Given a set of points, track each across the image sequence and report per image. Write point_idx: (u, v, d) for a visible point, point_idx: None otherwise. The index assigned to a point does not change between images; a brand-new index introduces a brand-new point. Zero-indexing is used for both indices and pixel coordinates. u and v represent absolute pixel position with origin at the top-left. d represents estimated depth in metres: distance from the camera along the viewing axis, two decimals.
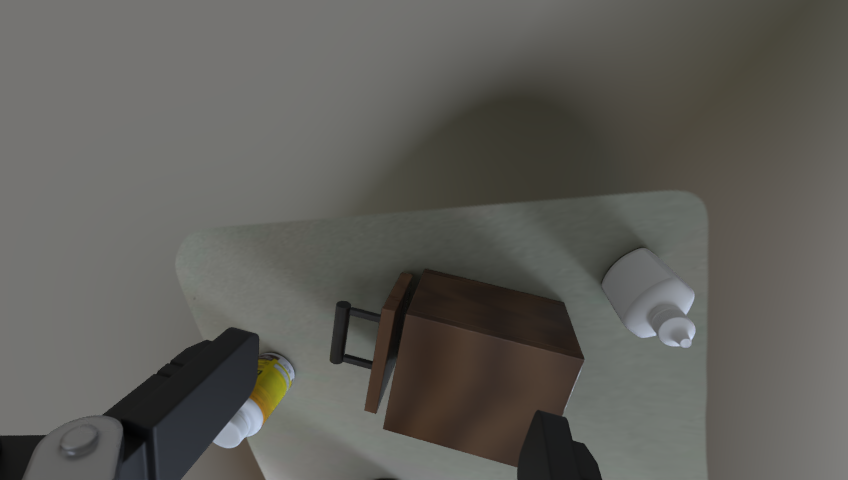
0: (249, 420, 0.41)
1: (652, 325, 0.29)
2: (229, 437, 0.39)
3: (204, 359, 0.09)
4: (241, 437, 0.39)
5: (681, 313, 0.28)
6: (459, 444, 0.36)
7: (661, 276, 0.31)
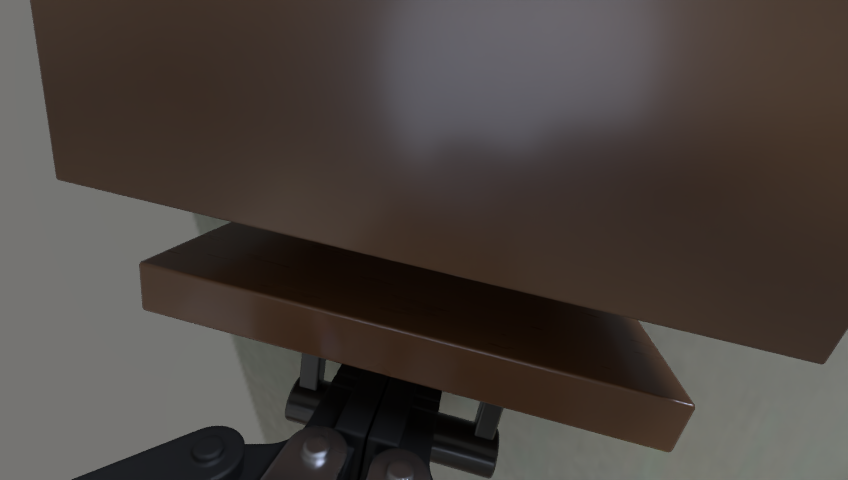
0: None
1: None
2: None
3: None
4: None
5: None
6: None
7: None
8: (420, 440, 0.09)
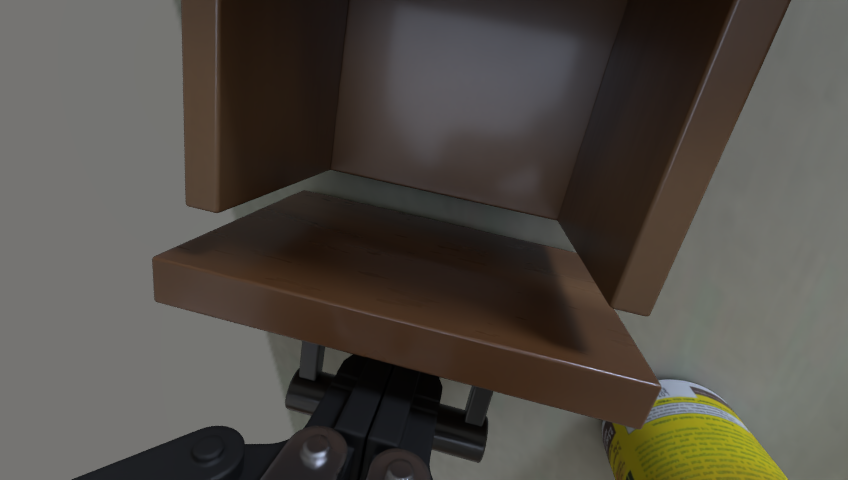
0: None
1: None
2: None
3: (373, 371, 0.10)
4: None
5: None
6: None
7: None
8: (420, 440, 0.09)
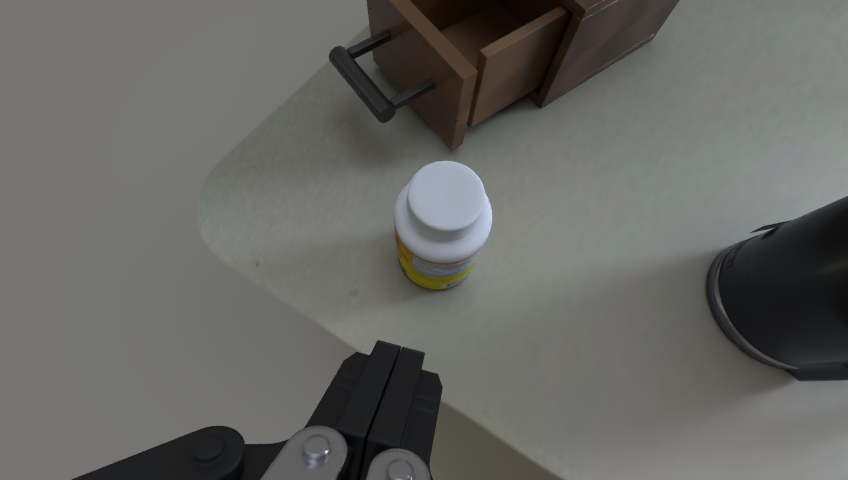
0: None
1: None
2: (461, 190, 0.20)
3: (373, 371, 0.10)
4: (475, 174, 0.20)
5: None
6: None
7: None
8: (420, 440, 0.09)
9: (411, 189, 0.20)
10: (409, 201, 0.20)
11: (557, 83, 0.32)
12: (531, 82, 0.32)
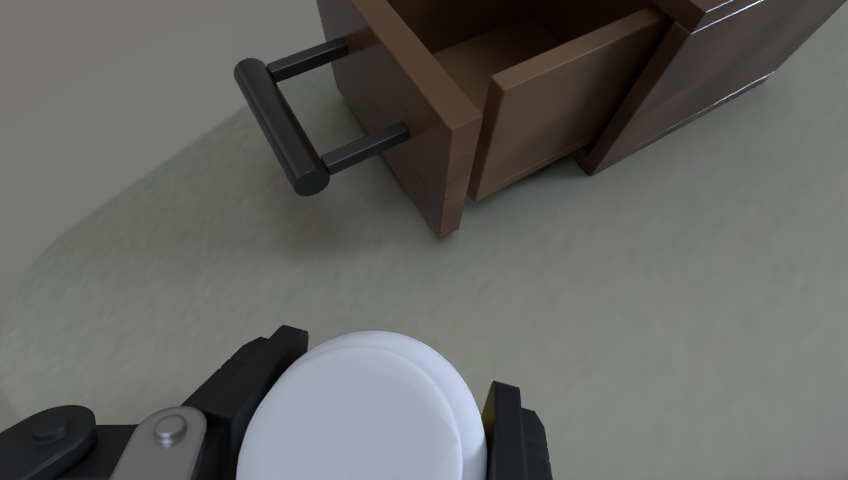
0: None
1: None
2: (395, 450, 0.07)
3: (265, 355, 0.10)
4: (443, 394, 0.07)
5: None
6: None
7: None
8: None
9: (252, 436, 0.07)
10: (238, 477, 0.07)
11: (622, 141, 0.19)
12: (579, 136, 0.20)
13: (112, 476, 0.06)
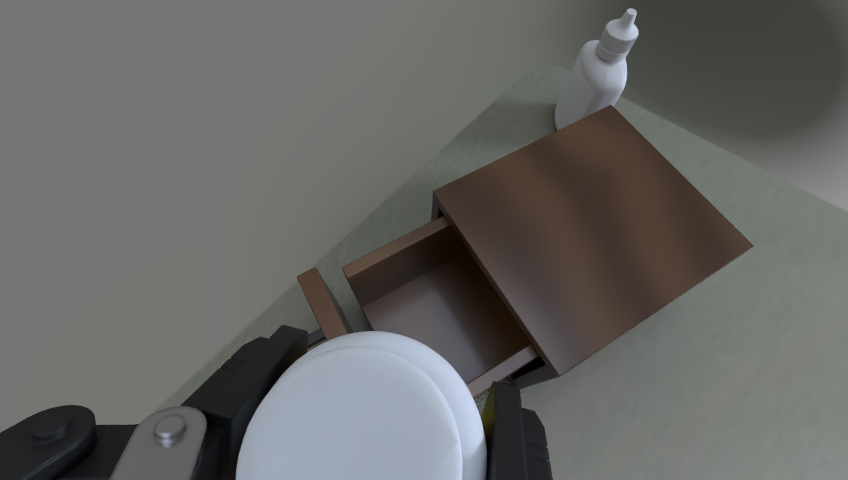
0: None
1: (609, 51, 0.30)
2: (395, 451, 0.07)
3: (265, 355, 0.10)
4: (443, 394, 0.07)
5: None
6: (652, 295, 0.22)
7: (577, 58, 0.34)
8: None
9: (251, 437, 0.07)
10: (237, 478, 0.07)
11: None
12: None
13: (112, 476, 0.06)
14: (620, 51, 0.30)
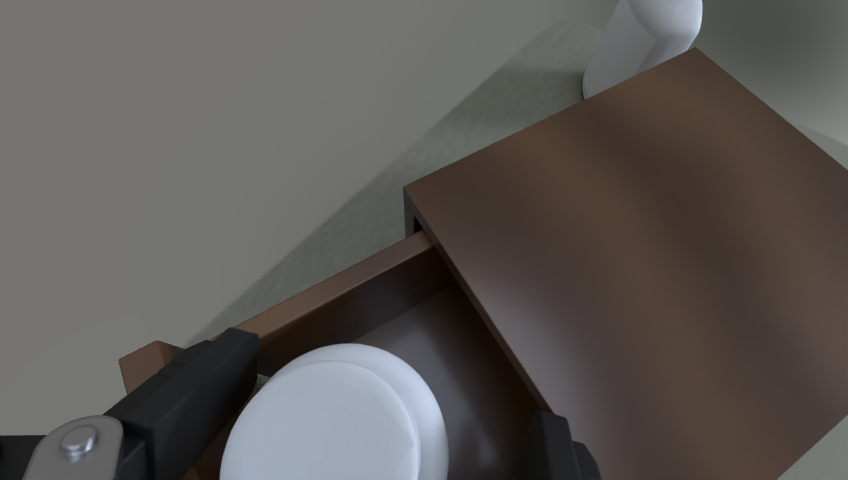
0: None
1: None
2: (359, 453, 0.08)
3: (204, 359, 0.09)
4: (403, 403, 0.08)
5: None
6: (825, 387, 0.11)
7: None
8: None
9: (234, 441, 0.08)
10: (221, 476, 0.08)
11: None
12: None
13: None
14: None
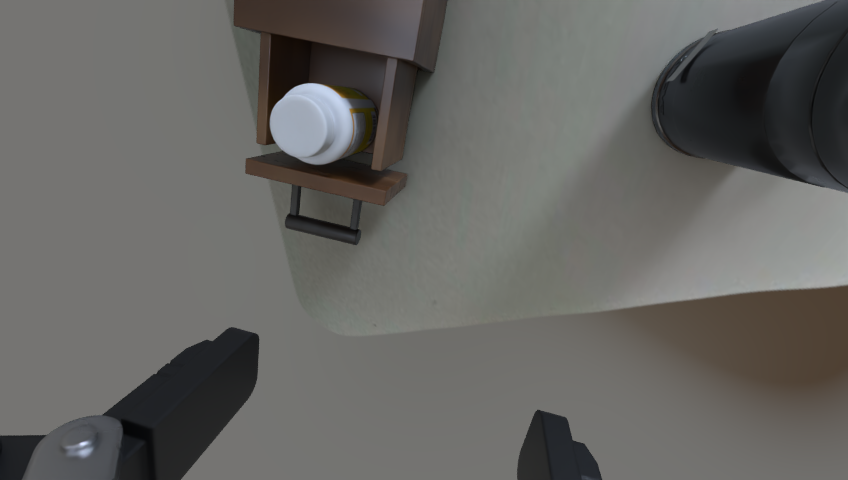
0: None
1: None
2: (302, 116, 0.25)
3: (204, 359, 0.09)
4: (299, 95, 0.25)
5: None
6: None
7: None
8: None
9: (278, 143, 0.26)
10: (285, 151, 0.26)
11: (431, 60, 0.32)
12: (410, 88, 0.33)
13: None
14: None
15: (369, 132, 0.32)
